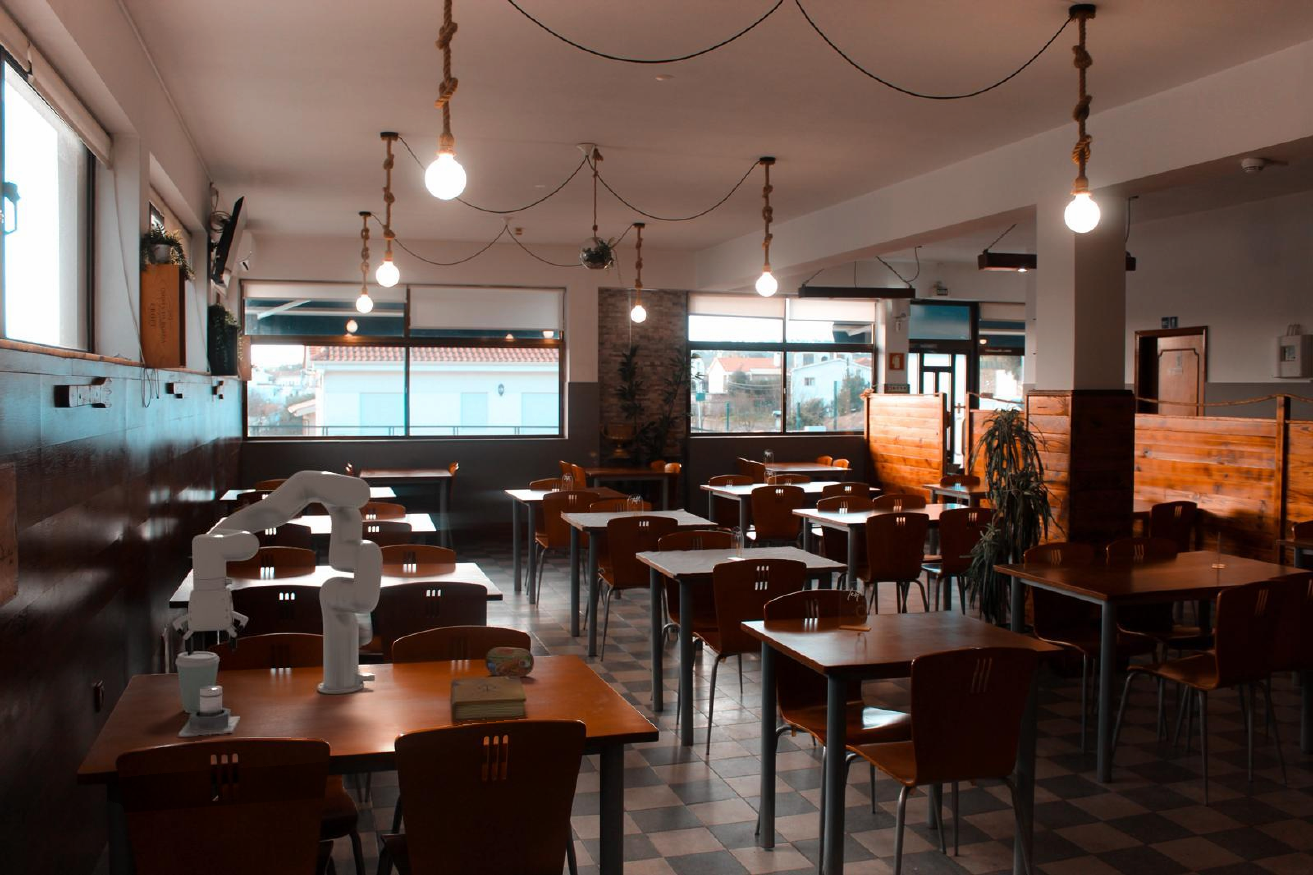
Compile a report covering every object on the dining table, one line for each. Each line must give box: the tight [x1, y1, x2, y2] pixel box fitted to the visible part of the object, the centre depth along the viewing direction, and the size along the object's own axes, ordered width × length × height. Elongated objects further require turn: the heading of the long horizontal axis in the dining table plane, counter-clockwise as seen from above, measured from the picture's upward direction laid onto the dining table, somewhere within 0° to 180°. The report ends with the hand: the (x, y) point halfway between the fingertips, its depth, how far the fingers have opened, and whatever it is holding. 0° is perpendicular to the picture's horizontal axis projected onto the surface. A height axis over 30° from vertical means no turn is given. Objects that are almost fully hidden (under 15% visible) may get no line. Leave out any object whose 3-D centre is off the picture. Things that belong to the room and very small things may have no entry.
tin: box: [485, 646, 535, 678], centre depth 309 cm, size 15×3×8 cm, turn 73°
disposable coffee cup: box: [175, 650, 221, 714], centre depth 272 cm, size 11×11×15 cm
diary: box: [450, 676, 527, 723], centre depth 276 cm, size 23×19×6 cm
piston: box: [200, 685, 223, 717], centre depth 257 cm, size 5×5×9 cm
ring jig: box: [178, 706, 241, 738], centre depth 257 cm, size 12×12×4 cm
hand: (211, 653), depth 256 cm, fingers open, 9 cm apart
